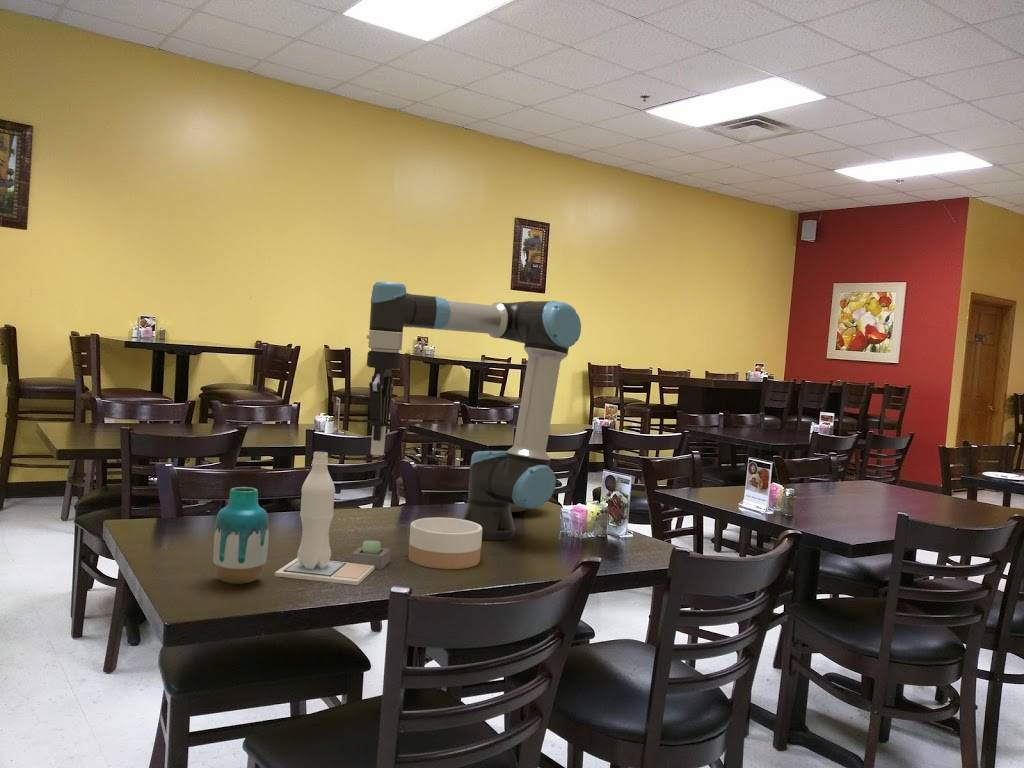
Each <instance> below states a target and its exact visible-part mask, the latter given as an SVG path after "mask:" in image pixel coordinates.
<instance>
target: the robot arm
mask: <svg viewBox="0 0 1024 768" xmlns="http://www.w3.org/2000/svg"><path fill="white" fill-rule="evenodd" d="M371 291H372V292H371V297H370V314H369V330H368V332H369V333H368V334H366V339H368V346H367V347H368V348H369V349H370V350H368V351H367V358H366V366H367V367H368V368H373V369H374V371H373V375H372V376H371V381H369V384H368V385H369V422H368V426H371V427H372V429H371V430H372V431H371V444H370V455H375V456H383V455H385V444H386V443H385V442H386V431H387V426H388V427H390V425H391V423H390V414H391V406H392V397H393V393H394V387H395V380H394V377H393V373H392V372H393V370H398V369H401V361H402V354H401V353H400V351H401V350H403V336H404V335H403V332H404V328H416V329H429V330H440V331H442V330H443V331H453V332H464V333H465V332H466V333H475V334H487V335H489V337H491V338H493V339H502V340H507V341H511V342H512V341H513V342H515V343H520V344H524V345H523V346H524V347H523V350H524V351H525V353H526V354H527V355H528V356H527V363H526V370H525V375H524V379H523V380H524V381H523V387H522V393H521V399H520V406H519V411H518V417H517V422H516V423H517V424H516V429H515V435H514V440H513V445H512V447H510V448H509V449H508V450H483V451H482V450H481V451H479V450H478V451H475V452H473V453H472V455H471V458H470V465H469V481H468V495H467V496H468V498H467V499H468V500H467V506H466V508H465V511H464V513H463V516H462V518H461V519H462V520H468V521H472V522H475V523H477V524H479V525H481V526H482V540H483V541H505V540H509V539H512V538H514V537H515V532H516V528H515V527H516V526H515V522H514V520H513V515H512V512H511V510H510V503H512V504H515V505H517V506H519V507H524V508H529V510H530V509H538V508H540V507H542V506H544V505H545V503H546V502H548V501H549V500H550V499H551V498H552V496H553V494H554V491H555V489H556V483H557V482H556V481H557V480H556V476H555V474H554V471H553V469H551V467H550V463H551V457H550V456H549V455H548V453H547V447H548V441H549V434H550V430H551V429H550V428H551V421H552V417H553V416H552V415H553V409H554V403H555V398H556V392H557V387H558V386H557V385H558V381H559V380H558V379H559V375H560V368H561V362H562V361H563V360H564V359H565V358H567V357H568V355H569V349H570V348H571V347H572V346H575V344H576V342H578V341H579V339H580V337H581V333H582V332H581V331H582V322H581V318H580V316H579V314H578V313H577V310H576V309H575V307H574V306H572V305H571V304H569V303H568V302H564V301H558V300H551V301H550V300H548V301H547V300H545V301H544V300H540V301H538V300H537V301H536V300H535V301H532V300H525V301H516V302H493V303H491V305H489V304H481V303H472V302H471V303H470V302H463V301H462V302H461V301H451V300H447V299H446V298H443V297H438V296H436V295H433V296H432V295H423V294H411V293H408V292H407V286H406V284H404V283H400V282H393V281H376V282H375V283H374V284H373V285H372V290H371Z"/></svg>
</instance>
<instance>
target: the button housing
mask: <svg viewBox="0 0 1024 768" xmlns="http://www.w3.org/2000/svg"><path fill="white" fill-rule="evenodd" d="M362 551H363V545H361V546H359V547H358V548H357V549H355V550H354V551H353V552H352V553H351V559H350V560H351V561H350V563H356V564H366V565H375V569H374V570H379V571H381V570H383V569H384V568H385V567H386V566H387V565H388V564H389V563H390V561H391V560H390V559H391V549H390V548H384V547H383V548H382V547H380V554H379V555H377V554H367V553H362Z"/></svg>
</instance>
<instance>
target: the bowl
mask: <svg viewBox="0 0 1024 768" xmlns="http://www.w3.org/2000/svg"><path fill="white" fill-rule="evenodd" d="M409 525H410V527H409V529H410V531H409V541H408V542H409V543H408V544H409V546H408V559H409V561H410V562H412V563H414V564H416V565H419V566H422V567H425V568H426V567H427V568H432V569H439V570H441V569H442V570H458V569H468V568H473V567H475V566H477V565H479V564H480V561H481V551H482V526H481V525H479V524H477V523H475V522H472V521H468V520H462V518H454V517H424V518H418V519H415V520H413V521H412V522H410V524H409Z"/></svg>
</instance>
